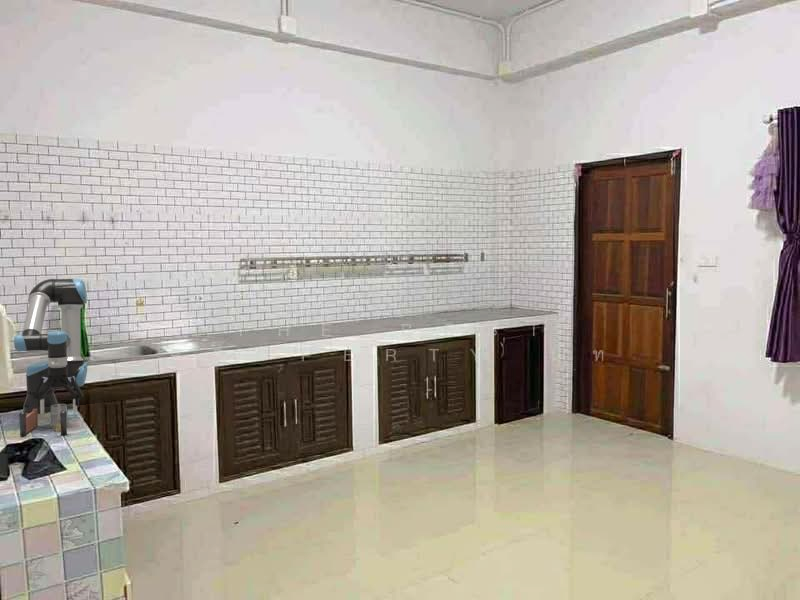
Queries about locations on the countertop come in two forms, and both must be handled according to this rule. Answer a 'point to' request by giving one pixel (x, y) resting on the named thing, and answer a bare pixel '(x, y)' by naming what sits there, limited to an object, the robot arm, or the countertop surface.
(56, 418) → the mug
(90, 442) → the countertop surface
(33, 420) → the gate
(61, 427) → the latch post
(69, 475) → the countertop surface
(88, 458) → the countertop surface
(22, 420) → the hinge post
